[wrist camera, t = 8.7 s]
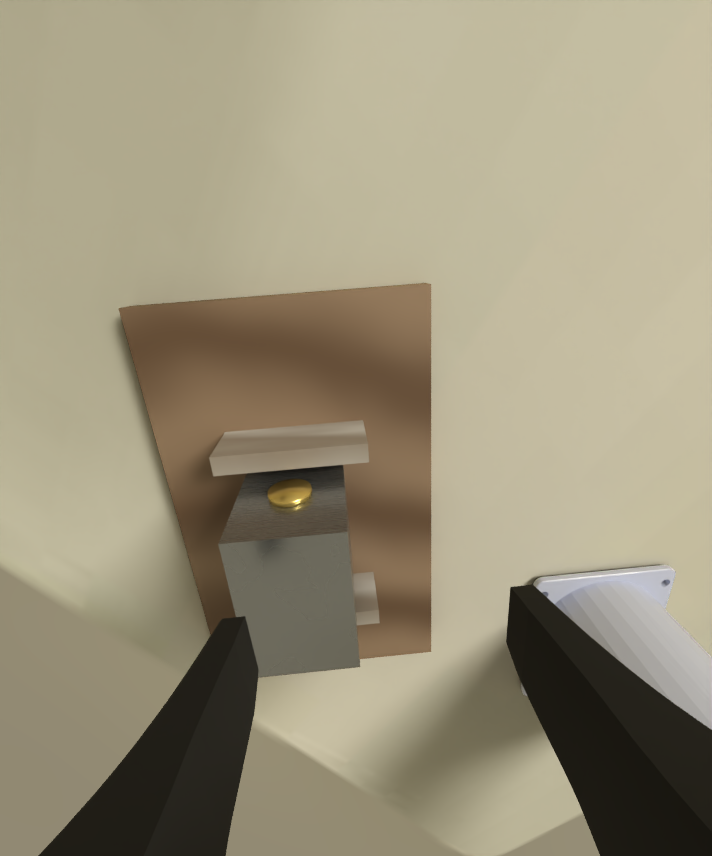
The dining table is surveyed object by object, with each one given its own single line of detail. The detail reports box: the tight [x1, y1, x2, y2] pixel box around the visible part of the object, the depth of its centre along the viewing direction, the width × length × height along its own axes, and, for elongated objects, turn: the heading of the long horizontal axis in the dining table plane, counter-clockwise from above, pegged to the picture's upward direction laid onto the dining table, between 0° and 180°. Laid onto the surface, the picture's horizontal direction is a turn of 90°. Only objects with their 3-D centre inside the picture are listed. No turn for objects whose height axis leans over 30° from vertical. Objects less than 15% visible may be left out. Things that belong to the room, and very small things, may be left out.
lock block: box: [218, 465, 360, 678], centre depth 16 cm, size 6×4×6 cm, turn 4°
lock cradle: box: [119, 283, 431, 659], centre depth 19 cm, size 20×12×4 cm, turn 4°
